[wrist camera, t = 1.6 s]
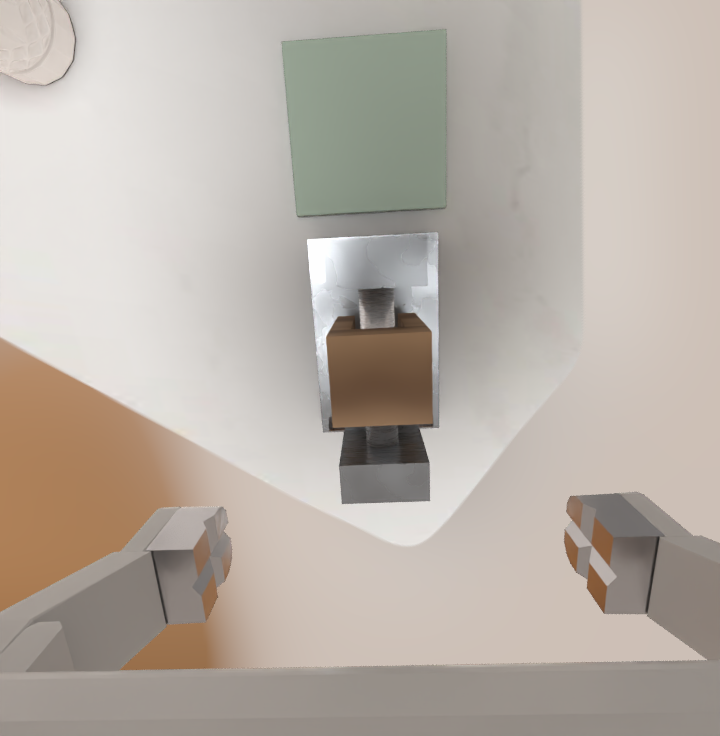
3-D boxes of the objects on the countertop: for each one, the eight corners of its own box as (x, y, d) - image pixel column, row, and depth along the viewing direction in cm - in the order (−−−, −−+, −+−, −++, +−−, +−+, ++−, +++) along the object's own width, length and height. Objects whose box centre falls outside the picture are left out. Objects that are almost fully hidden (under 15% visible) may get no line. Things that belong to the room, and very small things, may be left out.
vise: (312, 241, 34) (269, 225, 19) (432, 234, 33) (480, 213, 19) (326, 419, 38) (299, 517, 23) (433, 414, 37) (473, 511, 23)
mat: (283, 47, 30) (281, 41, 29) (444, 35, 30) (446, 29, 29) (298, 216, 33) (296, 215, 32) (444, 208, 33) (446, 206, 32)
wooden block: (337, 316, 28) (325, 336, 20) (414, 312, 28) (431, 331, 20) (342, 384, 29) (332, 427, 22) (415, 381, 29) (432, 423, 22)
